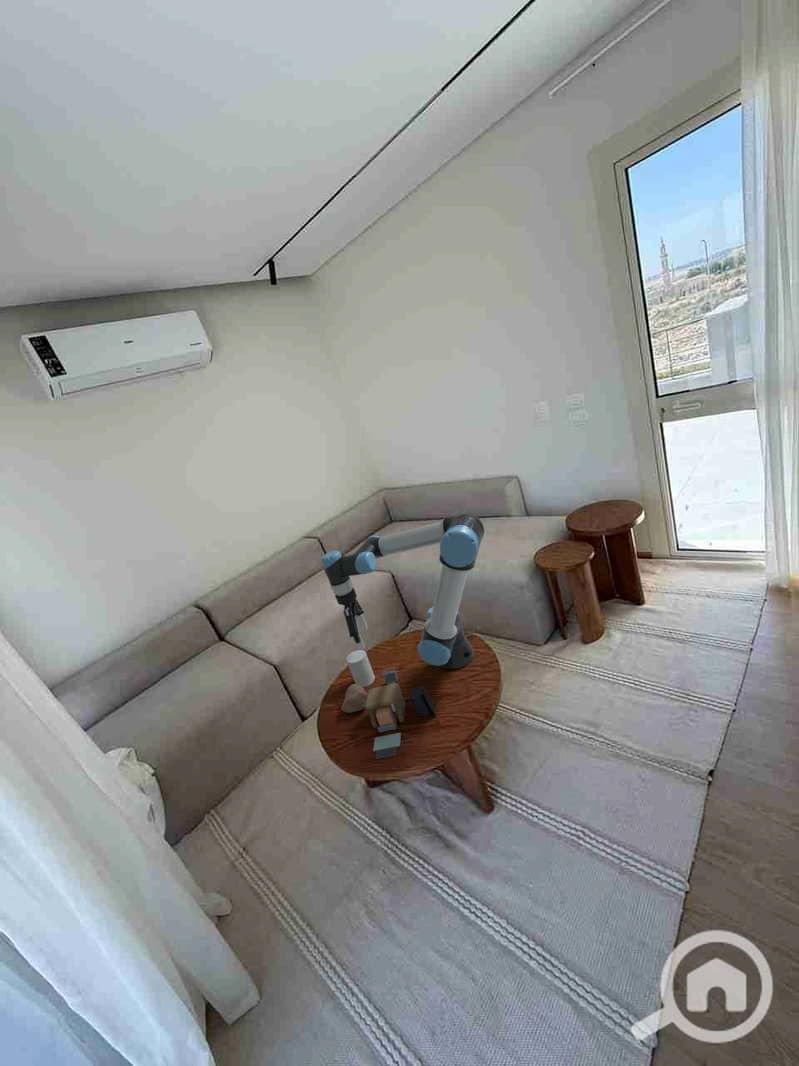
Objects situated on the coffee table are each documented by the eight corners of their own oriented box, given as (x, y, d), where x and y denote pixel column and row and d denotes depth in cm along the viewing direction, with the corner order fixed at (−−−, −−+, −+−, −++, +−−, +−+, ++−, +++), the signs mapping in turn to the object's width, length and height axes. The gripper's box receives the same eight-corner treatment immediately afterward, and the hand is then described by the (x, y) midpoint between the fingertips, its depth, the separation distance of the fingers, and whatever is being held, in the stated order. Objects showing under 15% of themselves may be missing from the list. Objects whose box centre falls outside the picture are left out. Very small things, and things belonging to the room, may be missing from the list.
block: (394, 714, 153) (390, 703, 151) (393, 725, 148) (389, 713, 146) (381, 717, 153) (377, 705, 152) (380, 727, 148) (376, 716, 147)
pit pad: (397, 747, 140) (396, 747, 140) (396, 755, 137) (396, 755, 137) (376, 751, 141) (376, 751, 141) (375, 759, 138) (375, 759, 138)
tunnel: (405, 703, 159) (397, 682, 156) (404, 721, 150) (396, 700, 148) (376, 709, 160) (368, 689, 157) (373, 727, 152) (365, 706, 149)
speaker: (439, 703, 153) (428, 681, 150) (436, 716, 148) (424, 693, 145) (420, 705, 156) (409, 683, 153) (416, 718, 151) (404, 695, 148)
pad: (400, 733, 146) (400, 732, 146) (400, 746, 141) (399, 745, 140) (375, 738, 147) (374, 737, 147) (373, 751, 142) (373, 750, 142)
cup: (372, 686, 174) (362, 661, 170) (353, 688, 176) (343, 663, 172) (376, 672, 181) (368, 648, 178) (358, 675, 183) (349, 651, 180)
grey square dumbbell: (399, 678, 172) (396, 669, 171) (396, 728, 147) (392, 718, 146) (385, 681, 173) (381, 672, 172) (379, 732, 148) (375, 721, 147)
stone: (368, 718, 160) (373, 691, 160) (343, 717, 157) (348, 690, 157) (360, 703, 172) (364, 678, 172) (337, 703, 169) (341, 677, 169)
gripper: (339, 580, 175) (357, 624, 181) (329, 609, 152) (350, 660, 158) (357, 574, 175) (374, 620, 181) (349, 603, 151) (370, 654, 157)
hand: (363, 638), depth 169 cm, fingers open, 13 cm apart
